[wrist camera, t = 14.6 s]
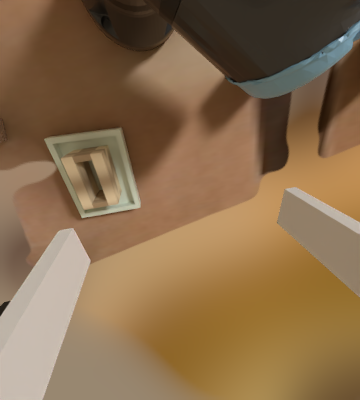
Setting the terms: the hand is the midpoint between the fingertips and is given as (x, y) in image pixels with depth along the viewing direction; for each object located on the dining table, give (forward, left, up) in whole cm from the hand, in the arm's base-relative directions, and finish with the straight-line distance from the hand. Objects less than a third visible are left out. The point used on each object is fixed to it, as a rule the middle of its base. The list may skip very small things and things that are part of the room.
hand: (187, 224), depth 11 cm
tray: (+5, -13, -29) cm, 32 cm away
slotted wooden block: (+4, -13, -28) cm, 31 cm away
